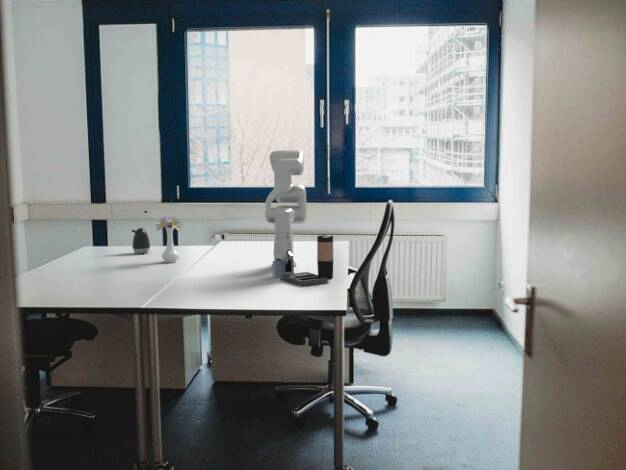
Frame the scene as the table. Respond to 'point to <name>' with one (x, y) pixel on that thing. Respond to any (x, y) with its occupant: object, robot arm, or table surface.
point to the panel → (281, 268)
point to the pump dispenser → (140, 241)
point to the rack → (305, 279)
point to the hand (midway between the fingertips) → (283, 270)
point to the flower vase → (169, 237)
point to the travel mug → (325, 256)
